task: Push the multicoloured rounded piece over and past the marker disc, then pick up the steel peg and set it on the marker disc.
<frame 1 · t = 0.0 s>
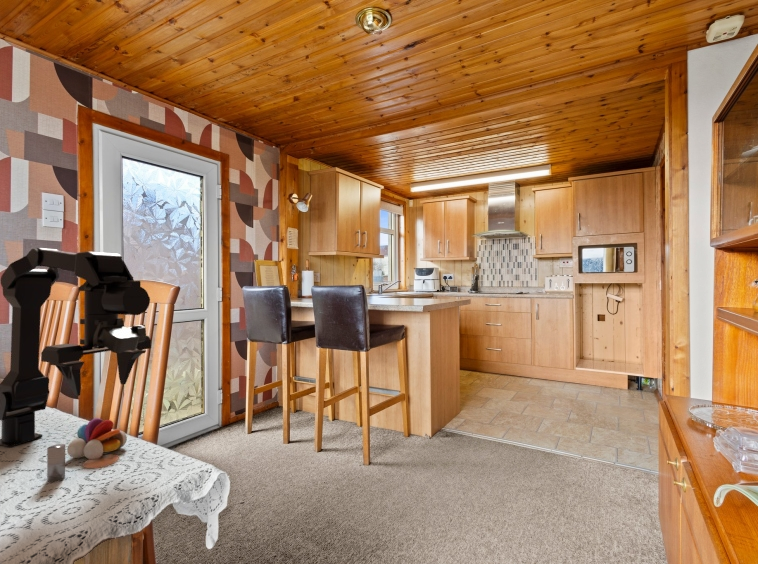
hand: (101, 389, 81), 15 cm above the table, fingers open, 9 cm apart
multicoloured rounded piece: (97, 454, 85), on the table, touching marker disc
marker disc: (101, 461, 81), on the table
steel peg: (56, 479, 74), on the table
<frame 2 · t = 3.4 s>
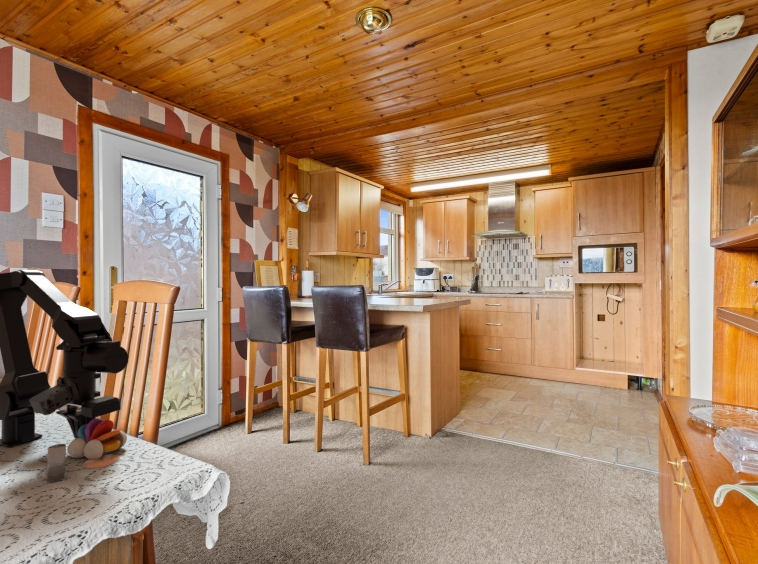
hand: (79, 441, 87), 2 cm above the table, fingers closed
multicoloured rounded piece: (97, 454, 85), on the table, touching gripper, marker disc
everything else where it was.
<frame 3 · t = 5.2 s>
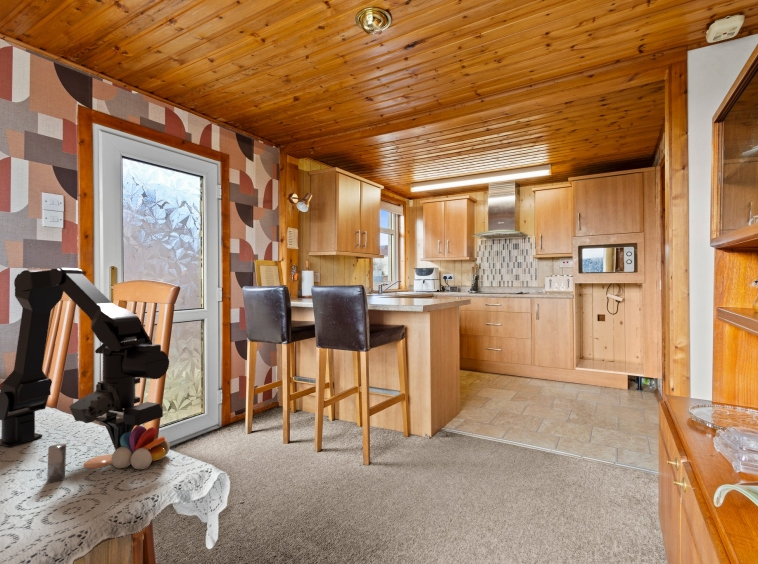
hand: (119, 450, 83), 2 cm above the table, fingers closed
multicoloured rounded piece: (141, 463, 81), on the table, touching gripper
everything else where it was.
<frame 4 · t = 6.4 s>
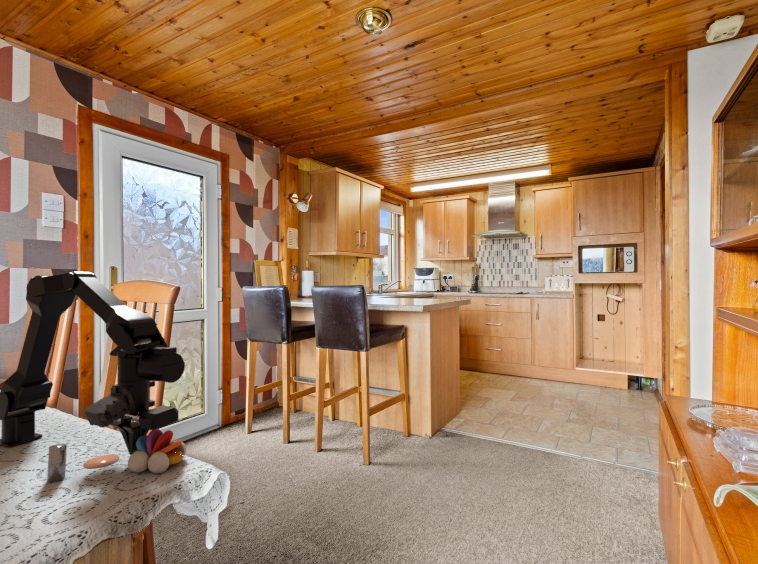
hand: (133, 454, 81), 2 cm above the table, fingers closed
multicoloured rounded piece: (157, 467, 79), on the table, touching gripper
everything else where it was.
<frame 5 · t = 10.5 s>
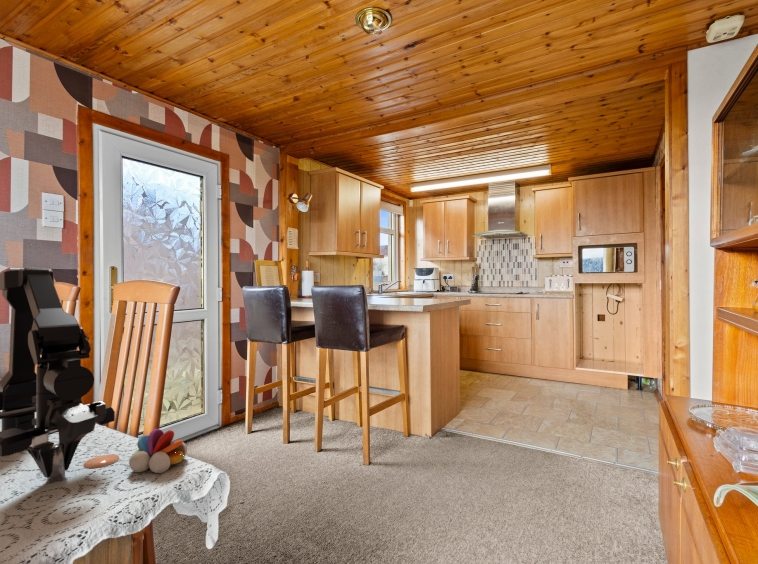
hand: (56, 473, 74), 1 cm above the table, fingers closed on steel peg, 3 cm apart
multicoloured rounded piece: (158, 466, 80), on the table
steel peg: (56, 478, 74), on the table, touching gripper
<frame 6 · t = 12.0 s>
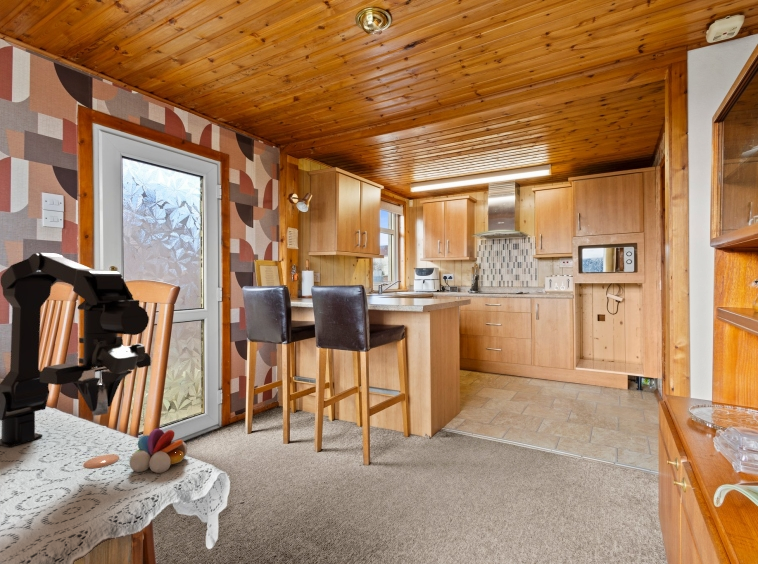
hand: (100, 408, 81), 11 cm above the table, fingers closed on steel peg, 3 cm apart
steel peg: (100, 413, 81), point 10 cm above the table, touching gripper
everything else where it was.
when the fingers open (2 cm above the table, at t = 13.7 s): steel peg drops 1 cm, resting on marker disc.
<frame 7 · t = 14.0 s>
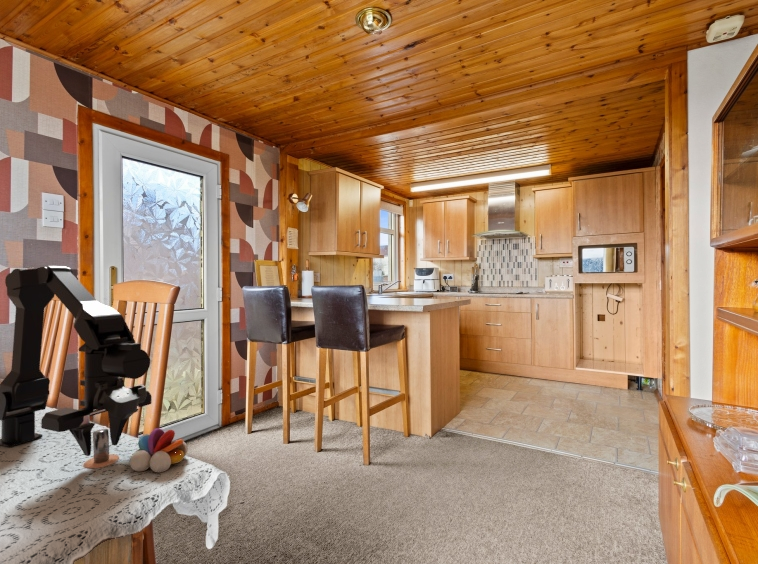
hand: (101, 450, 81), 2 cm above the table, fingers open, 5 cm apart
steel peg: (101, 460, 81), resting on marker disc
everything else where it was.
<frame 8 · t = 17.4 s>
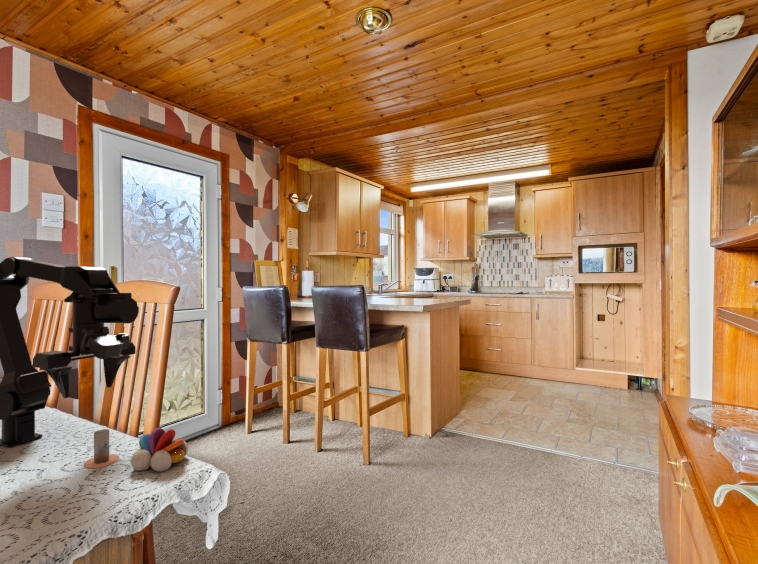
hand: (88, 392, 89), 12 cm above the table, fingers open, 9 cm apart
nothing on the table moved.
at the end: multicoloured rounded piece moved 16.6 cm from its start; steel peg 0.0 cm from the marker disc (horizontally); steel peg tilted 0° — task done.
